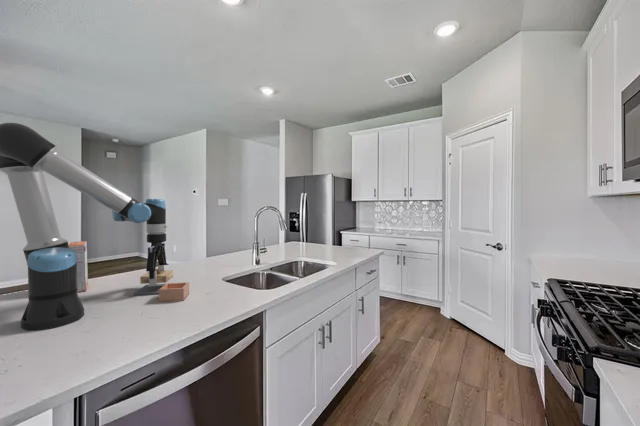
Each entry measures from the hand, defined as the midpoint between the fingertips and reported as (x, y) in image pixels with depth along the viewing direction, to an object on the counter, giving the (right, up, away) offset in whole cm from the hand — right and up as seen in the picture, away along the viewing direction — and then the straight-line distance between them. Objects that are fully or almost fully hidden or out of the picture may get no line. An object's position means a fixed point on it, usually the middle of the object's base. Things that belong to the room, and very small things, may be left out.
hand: (157, 282), depth 126 cm
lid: (0, +1, 0) cm, 1 cm away
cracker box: (-36, -3, +1) cm, 36 cm away
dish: (+13, -4, -10) cm, 17 cm away
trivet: (0, -3, 0) cm, 3 cm away
